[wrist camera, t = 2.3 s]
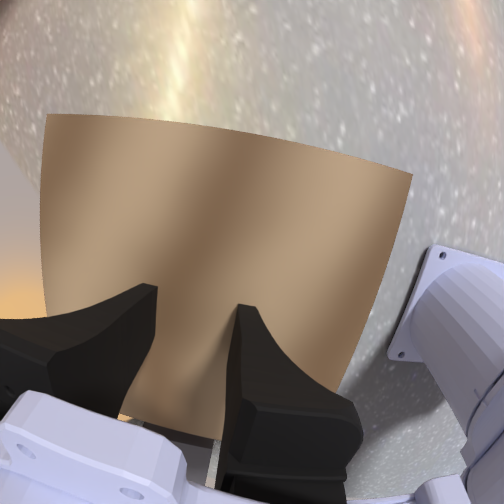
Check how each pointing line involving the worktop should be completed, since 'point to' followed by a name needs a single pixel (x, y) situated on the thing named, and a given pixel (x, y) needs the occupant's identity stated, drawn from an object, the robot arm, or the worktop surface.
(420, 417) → the worktop surface
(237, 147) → the wooden tan block
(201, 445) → the grey upright cuboid
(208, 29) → the worktop surface
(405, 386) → the worktop surface
